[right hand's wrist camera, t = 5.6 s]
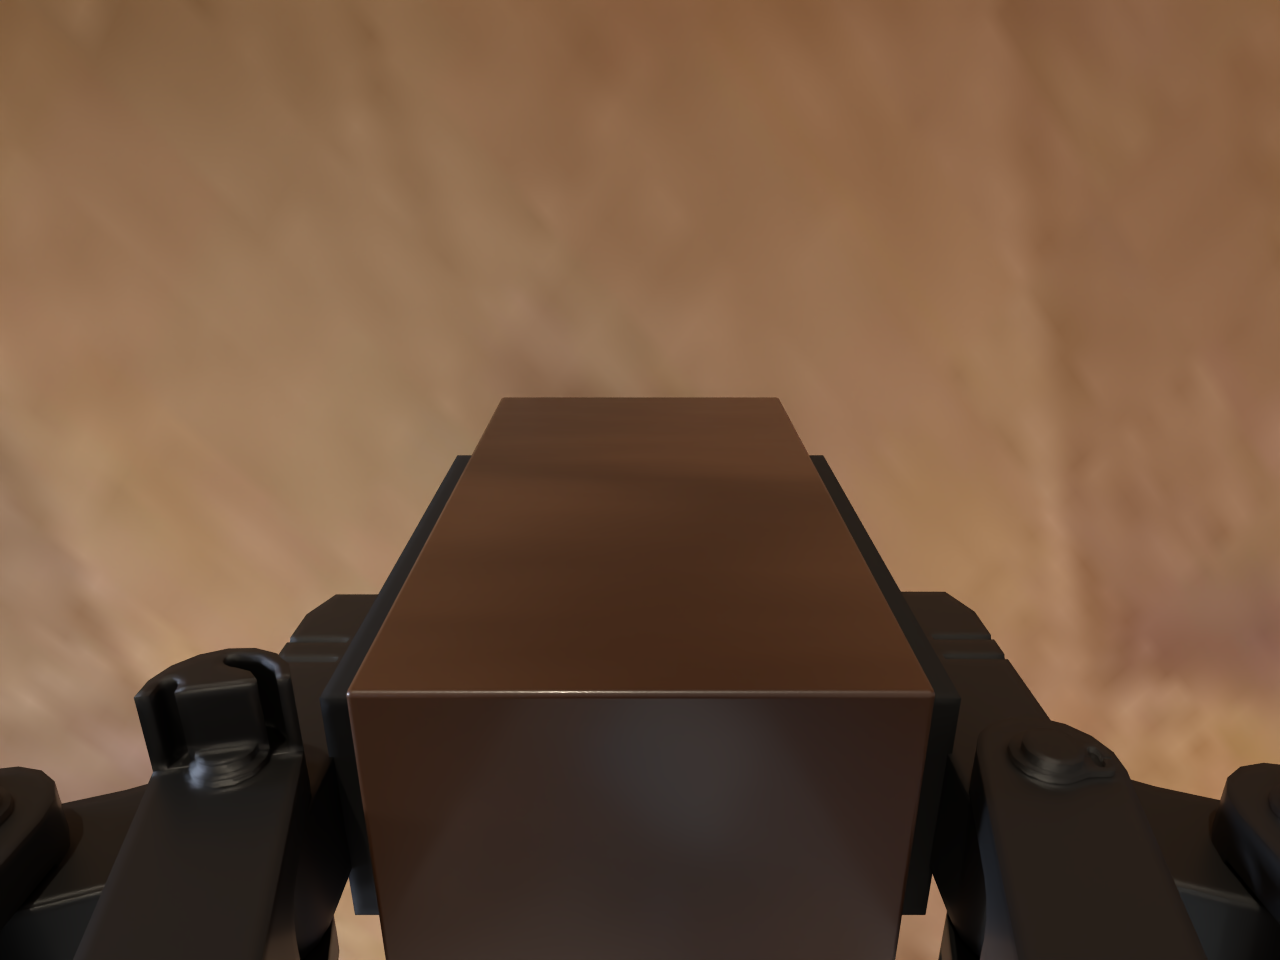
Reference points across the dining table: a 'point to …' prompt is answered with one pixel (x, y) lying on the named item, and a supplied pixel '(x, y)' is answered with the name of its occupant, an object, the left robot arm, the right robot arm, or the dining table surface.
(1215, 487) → the dining table surface
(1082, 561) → the dining table surface
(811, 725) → the walnut block
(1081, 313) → the dining table surface
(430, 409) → the dining table surface
